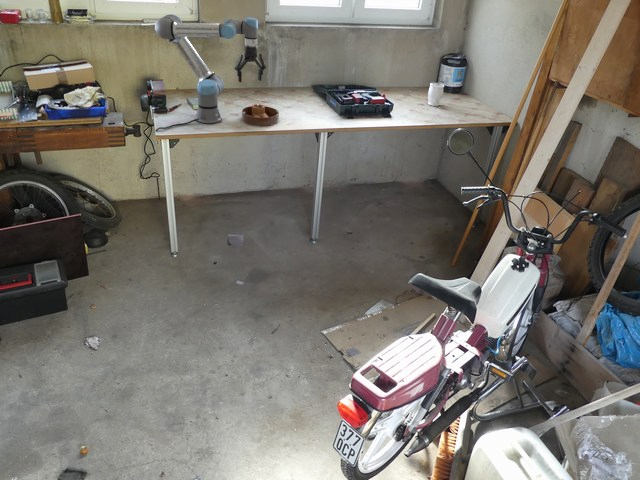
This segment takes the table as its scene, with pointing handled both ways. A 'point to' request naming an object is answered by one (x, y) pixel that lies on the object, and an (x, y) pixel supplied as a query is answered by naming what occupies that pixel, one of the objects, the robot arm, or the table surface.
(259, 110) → the bracket
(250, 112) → the brown shallow bowl
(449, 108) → the table surface
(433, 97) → the jar
